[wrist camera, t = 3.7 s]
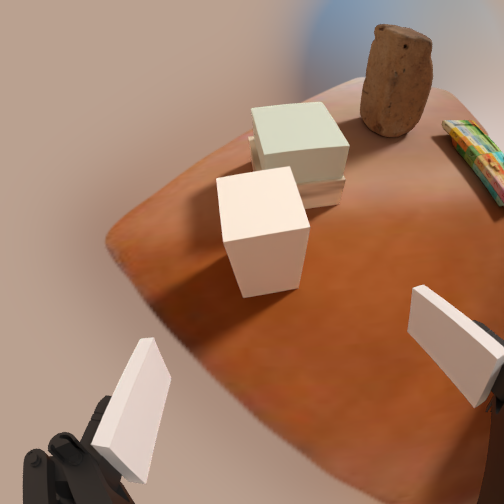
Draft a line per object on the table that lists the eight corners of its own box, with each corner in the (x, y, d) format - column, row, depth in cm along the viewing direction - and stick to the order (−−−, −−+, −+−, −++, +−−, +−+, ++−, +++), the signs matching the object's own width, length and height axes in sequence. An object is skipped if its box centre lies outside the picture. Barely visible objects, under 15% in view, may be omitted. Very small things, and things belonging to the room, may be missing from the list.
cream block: (298, 288, 29) (310, 227, 18) (243, 298, 29) (223, 242, 18) (286, 240, 32) (289, 166, 21) (235, 249, 32) (216, 178, 21)
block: (373, 140, 39) (397, 33, 22) (353, 115, 43) (367, 17, 25) (419, 137, 40) (449, 46, 22) (398, 114, 43) (419, 28, 25)
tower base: (338, 205, 34) (345, 179, 30) (262, 217, 34) (260, 191, 30) (316, 154, 39) (319, 128, 34) (251, 162, 39) (248, 136, 34)
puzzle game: (512, 198, 27) (444, 117, 36) (498, 214, 31) (437, 134, 41) (532, 188, 28) (473, 117, 37) (521, 202, 32) (466, 132, 41)
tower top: (342, 177, 30) (349, 145, 25) (266, 187, 30) (264, 154, 25) (319, 131, 34) (321, 101, 30) (254, 139, 34) (250, 108, 30)
